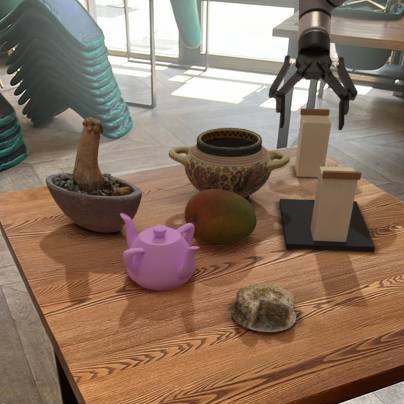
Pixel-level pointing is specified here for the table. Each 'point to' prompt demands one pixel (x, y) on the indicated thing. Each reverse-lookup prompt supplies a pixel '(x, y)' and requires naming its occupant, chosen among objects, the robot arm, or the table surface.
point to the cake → (264, 308)
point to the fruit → (220, 217)
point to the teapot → (159, 255)
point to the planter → (93, 188)
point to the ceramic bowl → (229, 161)
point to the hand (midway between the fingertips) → (311, 126)
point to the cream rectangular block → (312, 142)
